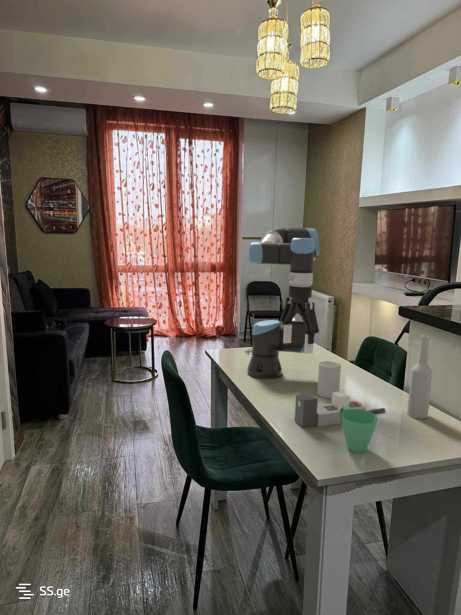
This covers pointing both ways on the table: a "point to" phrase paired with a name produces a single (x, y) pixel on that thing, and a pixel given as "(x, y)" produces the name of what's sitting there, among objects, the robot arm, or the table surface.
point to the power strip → (337, 413)
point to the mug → (357, 428)
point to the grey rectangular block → (306, 410)
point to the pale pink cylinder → (328, 378)
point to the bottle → (420, 383)
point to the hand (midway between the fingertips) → (297, 347)
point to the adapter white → (340, 399)
